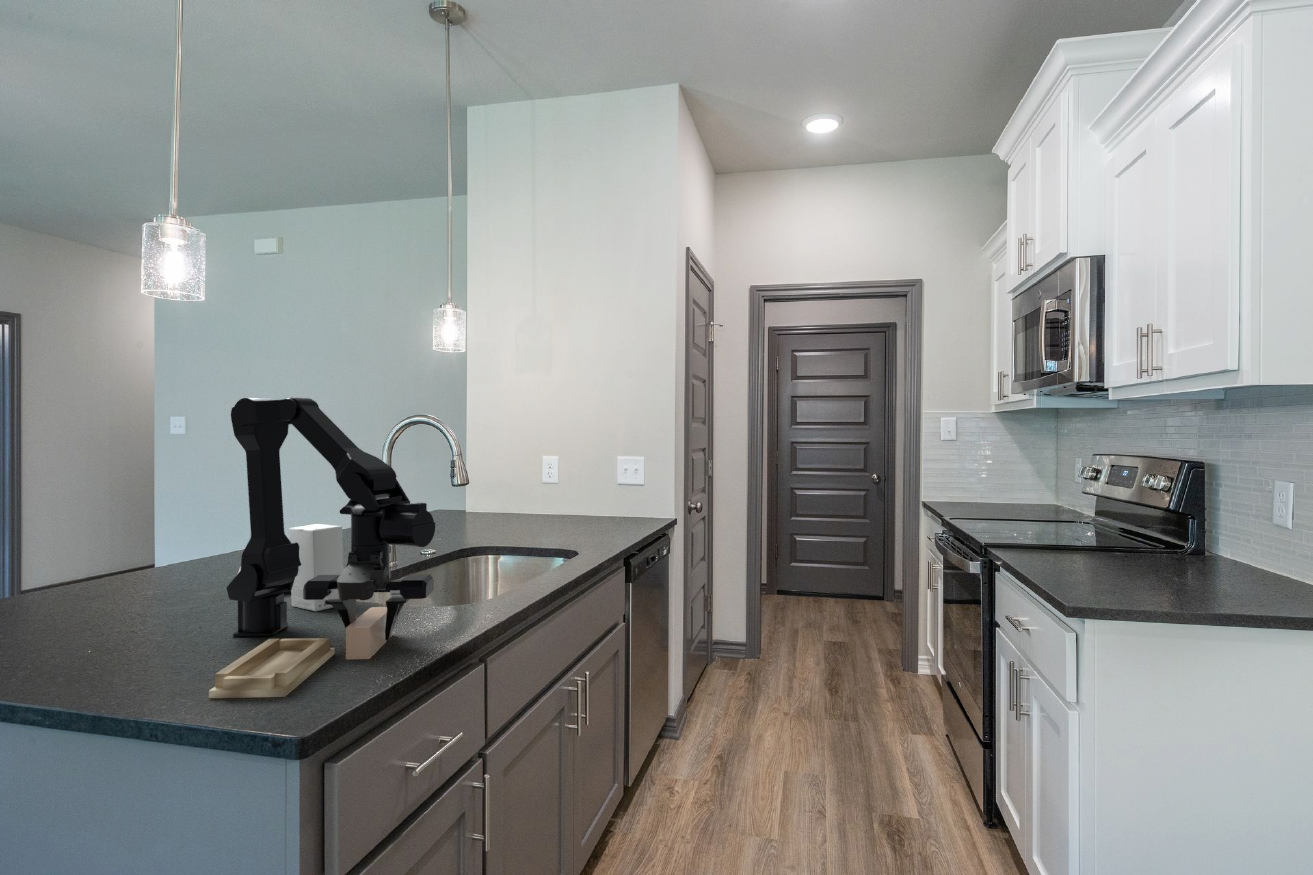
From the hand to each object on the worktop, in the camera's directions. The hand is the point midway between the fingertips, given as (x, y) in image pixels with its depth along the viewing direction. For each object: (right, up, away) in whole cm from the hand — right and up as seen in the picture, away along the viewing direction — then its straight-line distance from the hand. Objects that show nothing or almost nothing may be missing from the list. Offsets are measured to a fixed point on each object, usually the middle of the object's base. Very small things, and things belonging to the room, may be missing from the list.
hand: (370, 640), depth 113 cm
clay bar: (0, -1, 0) cm, 1 cm away
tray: (-8, -1, -13) cm, 15 cm away
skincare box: (-20, -1, +24) cm, 32 cm away
